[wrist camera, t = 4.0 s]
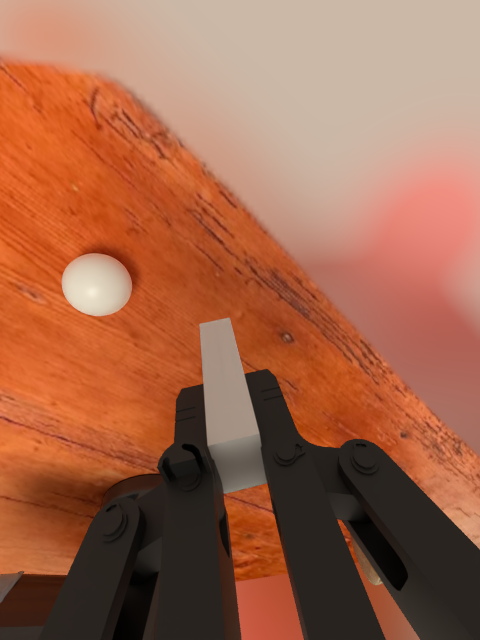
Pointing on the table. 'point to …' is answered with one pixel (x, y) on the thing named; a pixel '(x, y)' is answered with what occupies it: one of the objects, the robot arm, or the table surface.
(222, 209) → the table surface
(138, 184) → the table surface
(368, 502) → the robot arm
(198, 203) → the table surface
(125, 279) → the cue ball
